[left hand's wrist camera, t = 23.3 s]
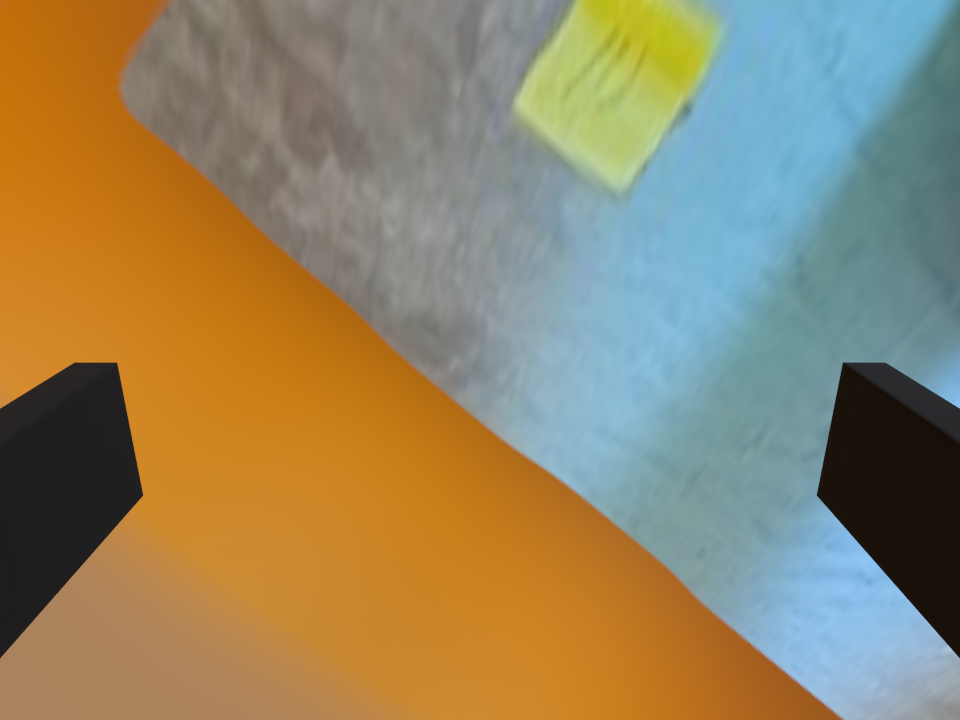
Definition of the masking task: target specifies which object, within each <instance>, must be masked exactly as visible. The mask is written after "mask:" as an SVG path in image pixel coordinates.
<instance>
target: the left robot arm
mask: <svg viewBox="0 0 960 720" xmlns="http://www.w3.org/2000/svg"><path fill="white" fill-rule="evenodd" d="M142 496H143V492H142V487H141V482H140V477H139V472H138V467H137V462H136V457H135V452H134V446H133V442H132V436H131V431H130V426H129V421H128V416H127V411H126V406H125V401H124V396H123V391H122V386H121V380H120V375H119V370H118V365H117V363H74V364H72V365H70V366H69V367H67V368H65V369H64V370H62V371H61V372H59V373H57V374H56V375H54V376H52V377H51V378H49V379H48V380H46V381H44V382H43V383H41V384H39V385H38V386H36V387H35V388H33V389H31V390H30V391H28V392H27V393H25V394H23V395H22V396H20V397H18V398H17V399H15V400H14V401H12V402H10V403H9V404H7V405H6V406H4V407H2V408H1V409H0V658H1V657H2V655H3V654H4V653H5V652H6V651H7V650H8V649H9V648H10V646H11V645H12V644H13V643H14V642H15V641H16V640H17V638H18V637H19V636H20V635H21V634H22V633H23V632H24V630H25V629H26V628H27V627H28V626H29V625H30V624H31V622H32V621H33V620H34V619H35V618H36V617H37V616H38V615H39V613H40V612H41V611H42V610H43V609H44V608H45V607H46V605H47V604H48V603H49V602H50V601H51V600H52V599H53V597H54V596H55V595H56V594H57V593H58V592H59V591H60V589H61V588H62V587H63V586H64V585H65V584H66V583H67V581H68V580H69V579H70V578H71V577H72V576H73V575H74V573H75V572H76V571H77V570H78V569H79V568H80V567H81V565H82V564H83V563H84V562H85V561H86V560H87V559H88V558H89V556H90V555H91V554H92V553H93V552H94V551H95V550H96V549H97V547H98V546H99V545H100V544H101V543H102V542H103V541H104V539H105V538H106V537H107V536H108V535H109V534H110V533H111V531H112V530H113V529H114V528H115V527H116V526H117V525H118V523H119V522H120V521H121V520H122V519H123V518H124V517H125V515H126V514H127V513H128V512H129V511H130V510H131V509H132V508H133V506H134V505H135V504H136V503H137V502H138V501H139V500H140V498H141V497H142ZM817 496H818V497H819V498H820V500H821V501H822V502H823V503H824V504H825V505H826V506H827V508H828V509H829V510H830V511H831V512H832V513H833V514H834V515H835V517H836V518H837V519H838V520H839V521H840V522H841V523H842V525H843V526H844V527H845V528H846V529H847V530H848V531H849V533H850V534H851V535H852V536H853V537H854V538H855V539H856V541H857V542H858V543H859V544H860V545H861V546H862V547H863V549H864V550H865V551H866V552H867V553H868V554H869V555H870V556H871V558H872V559H873V560H874V561H875V562H876V563H877V564H878V566H879V567H880V568H881V569H882V570H883V571H884V572H885V574H886V575H887V576H888V577H889V578H890V579H891V580H892V582H893V583H894V584H895V585H896V586H897V587H898V588H899V589H900V591H901V592H902V593H903V594H904V595H905V596H906V597H907V599H908V600H909V601H910V602H911V603H912V604H913V605H914V607H915V608H916V609H917V610H918V611H919V612H920V613H921V615H922V616H923V617H924V618H925V619H926V620H927V621H928V623H929V624H930V625H931V626H932V627H933V628H934V629H935V630H936V632H937V633H938V634H939V635H940V636H941V637H942V638H943V640H944V641H945V642H946V643H947V644H948V645H949V646H950V648H951V649H952V650H953V651H954V652H955V653H956V654H957V656H958V657H959V658H960V409H959V408H958V407H956V406H954V405H953V404H951V403H950V402H948V401H946V400H945V399H943V398H942V397H940V396H938V395H937V394H935V393H933V392H932V391H930V390H929V389H927V388H925V387H924V386H922V385H921V384H919V383H917V382H916V381H914V380H912V379H911V378H909V377H908V376H906V375H904V374H903V373H901V372H900V371H898V370H896V369H895V368H893V367H891V366H890V365H888V364H887V363H843V365H842V370H841V375H840V380H839V386H838V391H837V396H836V401H835V406H834V411H833V416H832V421H831V426H830V431H829V436H828V441H827V446H826V452H825V457H824V462H823V467H822V472H821V477H820V482H819V487H818V492H817Z"/></svg>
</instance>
